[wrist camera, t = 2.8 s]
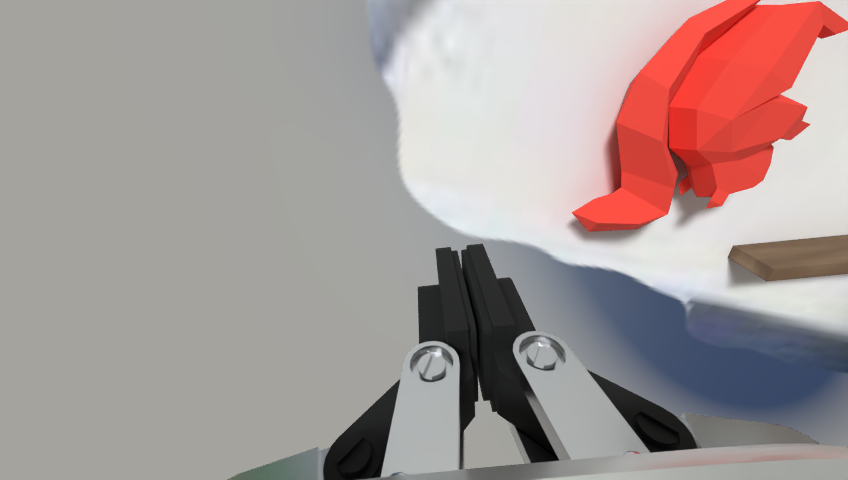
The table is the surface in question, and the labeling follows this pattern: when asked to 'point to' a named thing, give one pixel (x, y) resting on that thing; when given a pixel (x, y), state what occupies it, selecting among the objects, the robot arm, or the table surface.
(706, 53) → the animal figurine
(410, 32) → the table surface
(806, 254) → the frame
